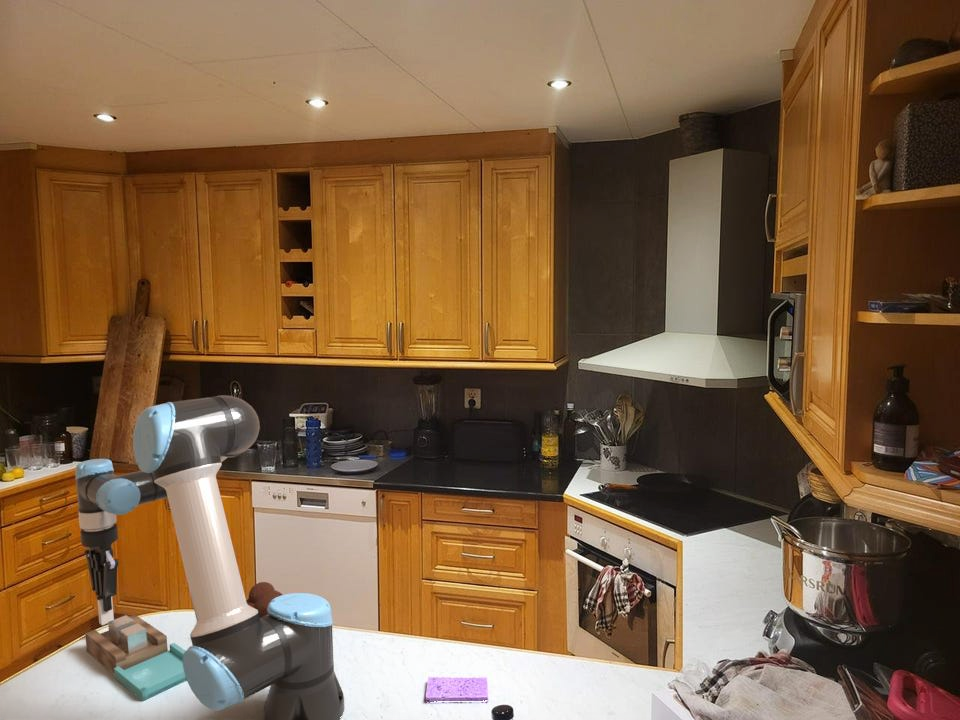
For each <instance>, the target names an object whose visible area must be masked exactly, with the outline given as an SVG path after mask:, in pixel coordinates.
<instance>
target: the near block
mask: <svg viewBox="0 0 960 720" xmlns="http://www.w3.org/2000/svg"><path fill="white" fill-rule="evenodd" d="M120 643H121V648H122V649H124V650H125V651H126V652H128V653H131V652H133V651H136V650H138V649H141V648H143V647H145V646H147V635H146V628H144V627H143V626H141V625H140V624H138V623H137V624H135V625H132V626H130V627H127V628H124V629H122V630H120Z"/></svg>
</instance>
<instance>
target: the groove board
mask: <svg viewBox="0 0 960 720" xmlns="http://www.w3.org/2000/svg"><path fill="white" fill-rule="evenodd" d="M128 617H130V618H131V619H133V620H134V625H135V624H137V623H138V624H140V625H141V626H143V627H144V628H146V635H147V646H145V647H143V648H141V649H138V650H136V651H133V652H131V653H128V652H126V651H125V650H124V649H122V648H121V643H119V644H116V643H115V642H113V641H112V640H111V639H109V630H107V631H104V632H102V633H101V632H99V631H97V630H96V629H93V630H90V631H87V632H85V635H84V636H85V647H86V652H87V653H88V654H89V655H90V656H91V657H93V658H94V659H95V660H96V661H97V662H99V663H100V664H101V665H102V666H104V667H105V668H106V669H107V670H108V671H109V672H110V673H112V674H113V675H114V668H116V667H118V666H119V667H120V668H122V669H123V670H126V669H128V668H130V667H133V666H135V665H137V664H140V663H142V662H144V661H146V660H149V659H151V658H153V657H156V656H158V655H160V654H163V653H165V652H167V651H169V650H168V637H167V635H166V634H164V633H163V632H162V631H160V630H159V629H157V628H156V627H154V626H153V625H151V624H150V623H149V622H147V621H145V620H144V619H142V618H141V617H139V616H138V615H136V614H131V615H130V616H129V615H128Z"/></svg>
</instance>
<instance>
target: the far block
mask: <svg viewBox="0 0 960 720" xmlns="http://www.w3.org/2000/svg"><path fill="white" fill-rule="evenodd" d="M107 624H108V625H107V626H108V627H107V628H108V631H109V639H111V640H112V641H113V642H115V643H116V644H119V643H120V630H122V629H124V628H127V627H130V626H132V625H134V620H133V619H131V618H130V617H129V615H127V614H125V615H123V616H120V617H118V618H114V620H112V621H109V622H108V623H107Z"/></svg>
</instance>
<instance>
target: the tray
mask: <svg viewBox="0 0 960 720" xmlns="http://www.w3.org/2000/svg"><path fill="white" fill-rule="evenodd" d="M185 651H186V649H184V648H183V647H181V646H180V645H178V644H176V643H175V642H172V643H169V650H168V651H167V652H165V653H163V654H160V655H158V656H156V657H153V658H151V659H149V660H146V661H144V662H142V663H140V664H137V665H135V666H133V667H130V668H128V669H126V670H123V669H122V668H120V667H119V666H118V667H116V668H114V674H113V675H114V680H117V681H118V682H119V683H120V684H121V685H123V686H124V687H125V688H126V689H127V690H128V691H130V692H131V693H132V694H133V695H134V696H136V698H138V699H139V700H140V701H142V702H144V701H147V700H149V699H150V698H152V697H154V696H157V695H159V694H161V693H163V692H165V691H167V690H169V689H171V688H173V687H175V686H177V685H179V684H182V683H184V682H185V681H186V682H187V679H186V676H185V673H184V669H183V662H184V661H183V655H184V653H185Z"/></svg>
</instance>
